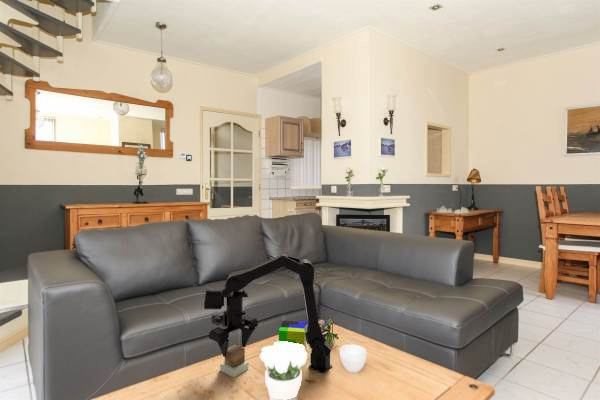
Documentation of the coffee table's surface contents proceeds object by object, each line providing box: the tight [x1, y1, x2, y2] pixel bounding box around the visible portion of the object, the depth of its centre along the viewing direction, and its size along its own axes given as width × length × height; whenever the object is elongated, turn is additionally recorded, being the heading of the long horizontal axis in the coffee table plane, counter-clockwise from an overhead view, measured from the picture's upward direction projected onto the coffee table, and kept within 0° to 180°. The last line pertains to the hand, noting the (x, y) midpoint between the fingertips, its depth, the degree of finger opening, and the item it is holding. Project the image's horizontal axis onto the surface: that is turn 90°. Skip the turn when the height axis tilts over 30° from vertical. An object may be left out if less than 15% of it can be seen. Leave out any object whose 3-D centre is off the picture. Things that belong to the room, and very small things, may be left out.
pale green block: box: [219, 360, 249, 378], centre depth 131 cm, size 7×7×2 cm
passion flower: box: [318, 318, 340, 345], centre depth 155 cm, size 11×11×12 cm
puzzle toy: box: [278, 320, 308, 348], centre depth 146 cm, size 10×10×10 cm
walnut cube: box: [224, 344, 246, 368], centre depth 130 cm, size 5×5×5 cm
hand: (234, 351), depth 130 cm, fingers open, 9 cm apart
